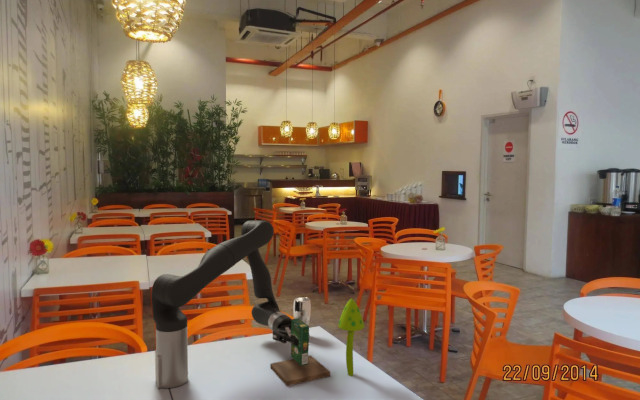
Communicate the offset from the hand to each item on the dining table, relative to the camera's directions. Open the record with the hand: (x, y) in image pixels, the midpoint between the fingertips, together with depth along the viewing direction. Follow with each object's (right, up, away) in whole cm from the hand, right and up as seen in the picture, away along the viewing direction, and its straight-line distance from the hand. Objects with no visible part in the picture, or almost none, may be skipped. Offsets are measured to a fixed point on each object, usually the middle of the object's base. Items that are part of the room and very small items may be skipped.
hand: (302, 342), depth 140 cm
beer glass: (-2, -9, +33) cm, 35 cm away
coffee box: (-1, -7, +2) cm, 8 cm away
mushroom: (+16, -11, +1) cm, 19 cm away
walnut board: (-1, -11, +2) cm, 11 cm away
